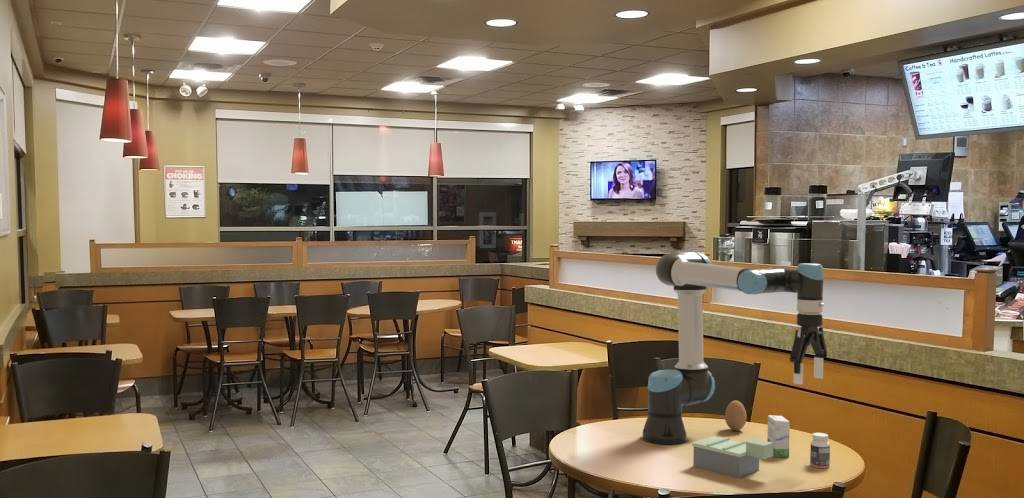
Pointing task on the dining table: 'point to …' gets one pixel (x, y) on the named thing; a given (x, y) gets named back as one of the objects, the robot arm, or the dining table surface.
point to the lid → (737, 447)
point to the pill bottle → (820, 451)
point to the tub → (725, 462)
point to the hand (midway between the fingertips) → (808, 381)
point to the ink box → (779, 435)
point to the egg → (735, 415)
